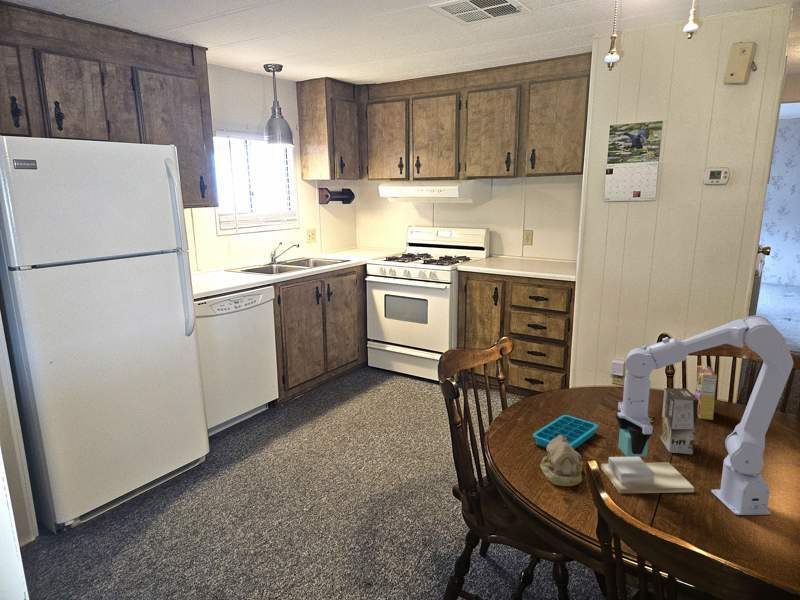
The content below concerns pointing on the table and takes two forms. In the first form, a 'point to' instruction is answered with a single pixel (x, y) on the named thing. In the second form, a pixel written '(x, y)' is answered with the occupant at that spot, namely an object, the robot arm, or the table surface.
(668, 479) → the stacking base
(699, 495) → the table surface
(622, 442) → the teal cube
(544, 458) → the ceramic model
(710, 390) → the candy box
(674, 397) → the coffee box
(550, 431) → the ice cube tray
